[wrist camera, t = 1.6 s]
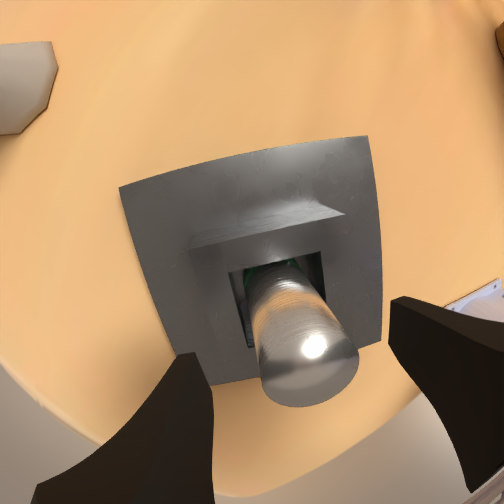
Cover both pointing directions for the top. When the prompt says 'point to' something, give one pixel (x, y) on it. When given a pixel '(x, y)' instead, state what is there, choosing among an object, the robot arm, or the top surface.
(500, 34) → the plant pot
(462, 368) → the robot arm
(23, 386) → the top surface
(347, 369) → the steel column
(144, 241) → the charcoal stand
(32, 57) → the flask
